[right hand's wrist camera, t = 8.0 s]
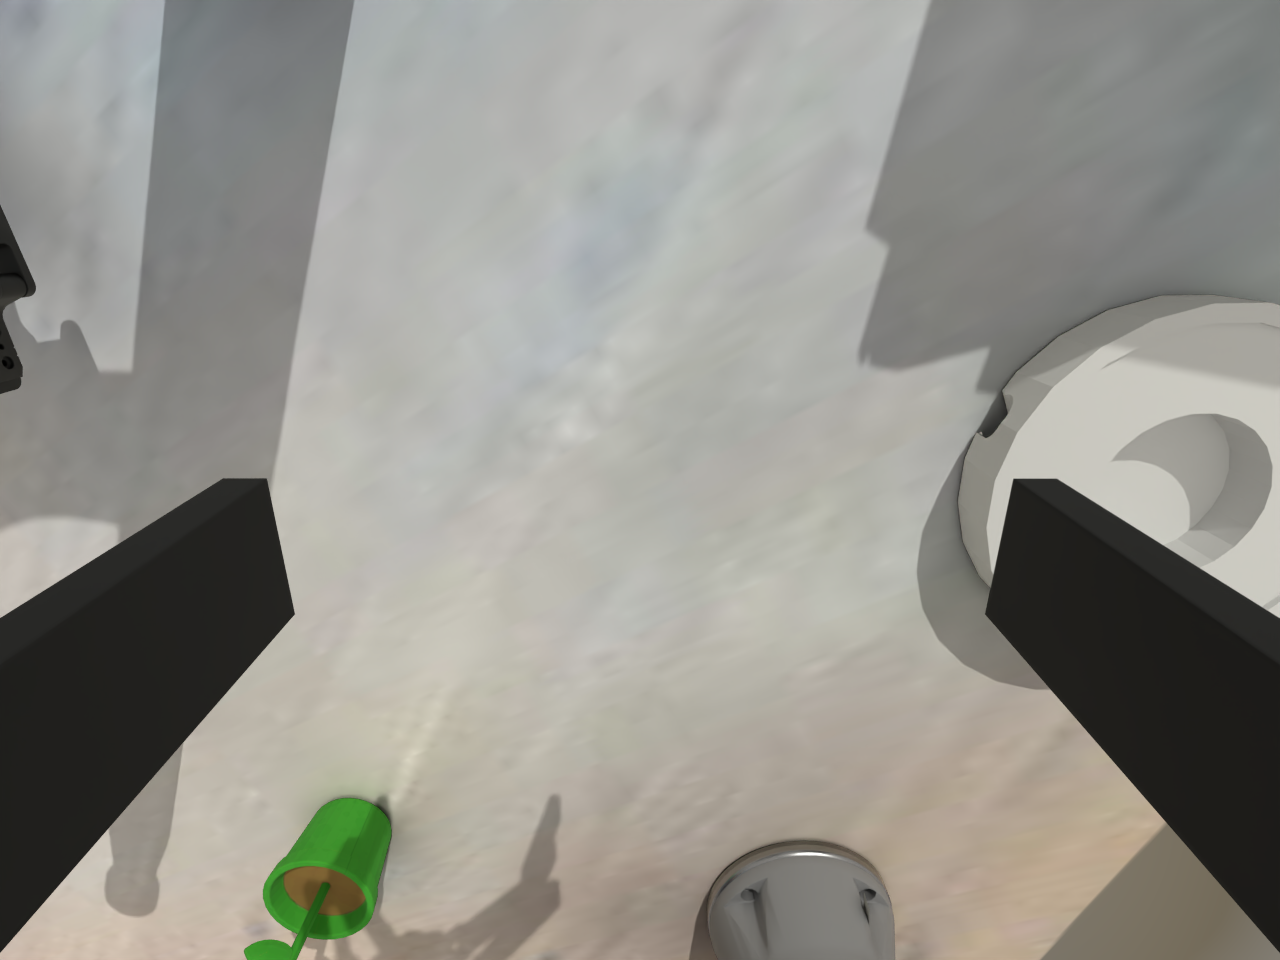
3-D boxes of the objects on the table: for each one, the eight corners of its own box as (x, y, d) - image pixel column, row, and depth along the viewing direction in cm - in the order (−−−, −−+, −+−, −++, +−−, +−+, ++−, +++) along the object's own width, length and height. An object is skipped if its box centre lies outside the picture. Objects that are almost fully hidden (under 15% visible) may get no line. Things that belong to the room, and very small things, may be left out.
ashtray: (1314, 227, 39) (1385, 228, 35) (1340, 561, 47) (1401, 591, 43) (917, 385, 42) (944, 402, 39) (1001, 673, 50) (1030, 710, 46)
